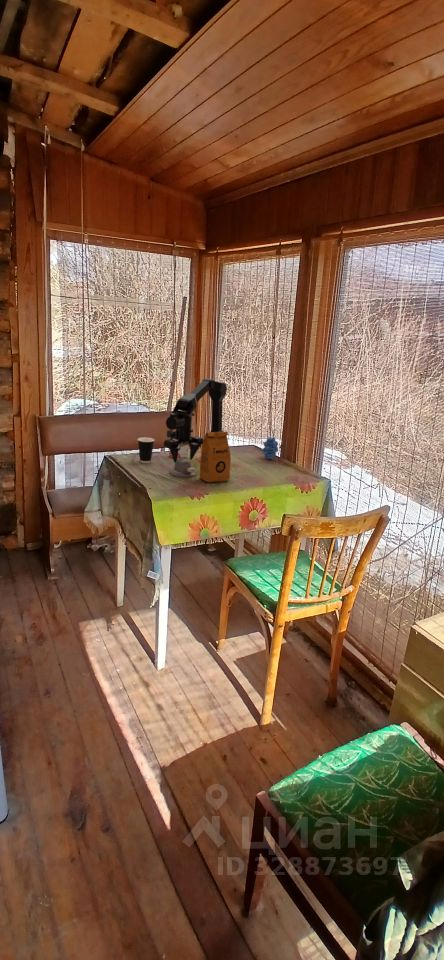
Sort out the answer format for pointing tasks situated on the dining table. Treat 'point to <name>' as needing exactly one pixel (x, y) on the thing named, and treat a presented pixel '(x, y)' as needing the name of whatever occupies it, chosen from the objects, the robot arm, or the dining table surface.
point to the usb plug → (183, 466)
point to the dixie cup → (145, 449)
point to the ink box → (181, 450)
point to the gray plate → (178, 474)
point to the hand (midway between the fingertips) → (183, 460)
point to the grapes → (270, 448)
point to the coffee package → (215, 457)
